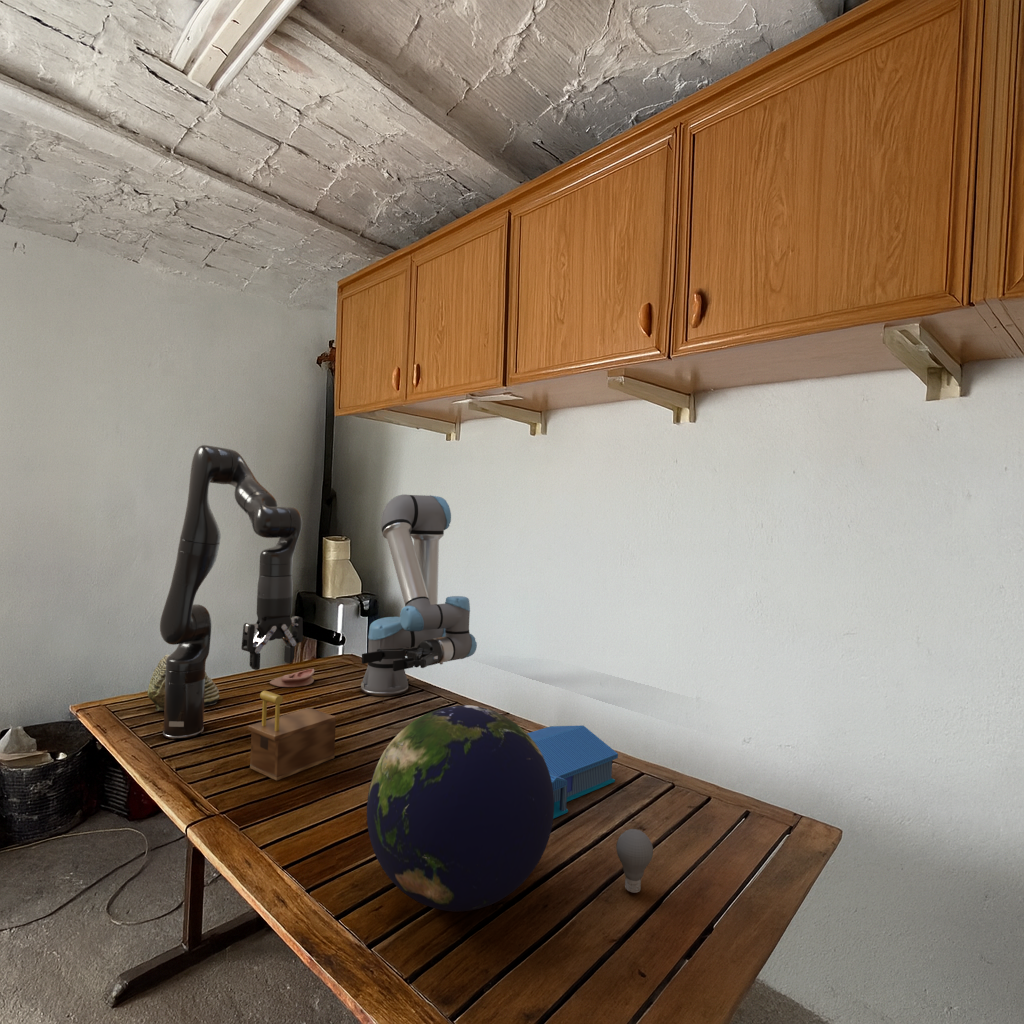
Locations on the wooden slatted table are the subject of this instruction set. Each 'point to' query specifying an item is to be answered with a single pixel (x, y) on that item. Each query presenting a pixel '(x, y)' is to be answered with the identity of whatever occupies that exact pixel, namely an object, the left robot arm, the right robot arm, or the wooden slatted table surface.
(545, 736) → the model building
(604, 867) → the wooden slatted table surface
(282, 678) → the anatomical model
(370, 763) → the wooden slatted table surface
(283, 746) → the chest
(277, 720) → the lid
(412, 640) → the right robot arm
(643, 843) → the light bulb
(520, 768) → the globe
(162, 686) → the fossil
